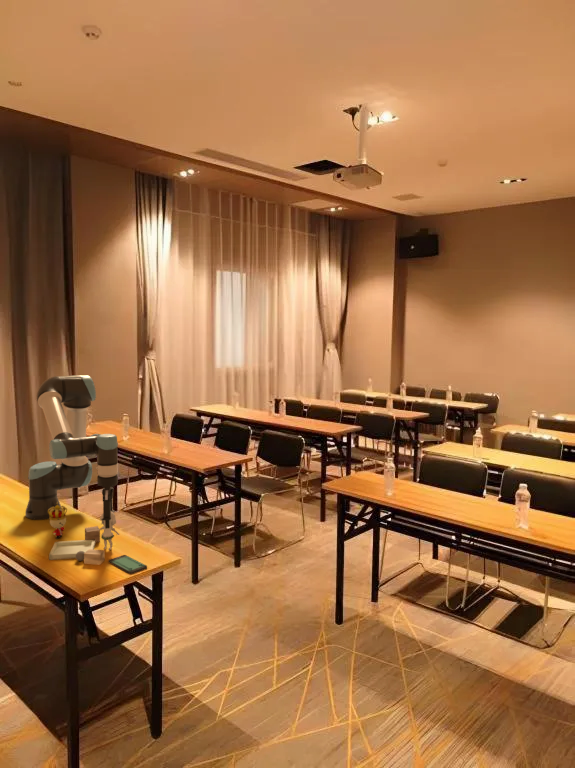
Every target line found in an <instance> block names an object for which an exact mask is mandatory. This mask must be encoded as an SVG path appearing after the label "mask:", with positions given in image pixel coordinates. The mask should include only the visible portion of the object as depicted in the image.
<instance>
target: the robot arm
mask: <svg viewBox="0 0 575 768" xmlns="http://www.w3.org/2000/svg"><path fill="white" fill-rule="evenodd" d="M96 399H97V391H96V385H95V382H94V381H93V378H92V377H91V376H90V375H81V374H78V375H57V376H55V375H54V376H52V377H49V378H47V379H46V380H44V381H43V382H42V383H41V385H40V386H39V388H38V389H37V392H36V401H37V404H38V407H40V409H42V412H43V415H44V417H45V422H46V424H47V428H48V431H49V432H50V436H51V440H50V441H49V444H48V446H49V449H48V450H49V455H50V457H51V459H53V461H50V460H49V461H42V462H38V463H36V464H33V465H32V466H30V467H29V468H28V469H29V470H28V478H27V479H28V492H29V493H28V494H29V495H28V496H29V497H28V502H27V504H26V508H25V518H27V519H30V520H34V521H35V520H38V521H39V520H48V519H49V513H48V509H50V508H51V507H53V506H54V507H55V506H56V505H57V504H58V505H59V506H60V507H61V506H62V505H61V503H60V500H59V497H58V491H61V490H62V491H63V490H67V489H75V488H82V487H87V486H88V485H90V483H91V482H92V477H93V464H92V462H91V461H90V460H89V458H88V456H89V457H90V456H96V462H97V463H96V464H97V465H96V466H95V469H96V471H97V482H96V483H97V486H98V487H102V490H101V495H102V503H103V504H102V507H103V509H102V510H103V511H102V514H103V519H102V520H104V525H103V526H104V529H103V532H104V536H111V532H112V530H111V511H112V512H113V513H115V509H114V506H113V499H114V490H115V489H114V487H115V486H117V485H118V483H119V475H118V473H119V463H118V455H119V454H118V445H119V442H118V436H117V435H116V434H112V433H103V434H102V433H100V434H99V433H94V434H92V435H89V436H87V424H88V423H87V419H88V418H87V417H88V416H87V415H88V409H90V407H91V406H92V402H94V401H95V400H96ZM64 408H65V409H66V412H65V409H64ZM54 460H61V463H59V464H57V462H56V461H54ZM57 502H59V503H57ZM61 508H62V507H61ZM61 508H60V509H61ZM53 509H55V508H53ZM49 511H50V510H49ZM60 511H61V510H60ZM53 512H55V510H54V511H53ZM49 520H50V519H49ZM102 520H101V521H102ZM112 527H113V528H114V525H113V526H112Z"/></svg>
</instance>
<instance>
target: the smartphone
mask: <svg viewBox="0 0 575 768" xmlns="http://www.w3.org/2000/svg"><path fill="white" fill-rule="evenodd" d="M107 562H108V563H109V564H111V565H113V566H114V567H116V568H118V569H120V570H122V571H123V572H125V573H127V574H129V575H133V574H136V573H138V572H141V571H144V570H147V569H148V565H146V564H144V563H143V562H141V561H139V560H137V559H134V558H132V557H130V556H129V555H126V554H123V555H120V556H115V557H113V558H110V559H108V561H107Z"/></svg>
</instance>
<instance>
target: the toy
mask: <svg viewBox="0 0 575 768" xmlns="http://www.w3.org/2000/svg"><path fill="white" fill-rule="evenodd" d="M59 502H60V501H59ZM59 502H57V503H59ZM53 508H55V509H53ZM60 508H61V509H60ZM49 510H50V511H49ZM54 510H55V512H53V511H54ZM60 510H61V511H60ZM67 511H68V508H67V507H66V506H64V505H61V507H60V506H59V505H58V504H57V505H56V506H55V507H54V506H53V507H51V508H50V509H48V513H49V525H50V526H51V527H52V528H54V529H55V530H54V531H52V534H53V536H55V539H61V538H62V537H63V534H64V533H63V531H64V530H65V525H66V524H67V523H66V522H67Z"/></svg>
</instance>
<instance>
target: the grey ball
mask: <svg viewBox="0 0 575 768" xmlns="http://www.w3.org/2000/svg"><path fill="white" fill-rule="evenodd" d="M84 553H85V552H83V551H79V552H78V553H77V554H76V558H75V559H76V560H77V561H79V562H83V561H84Z"/></svg>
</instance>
